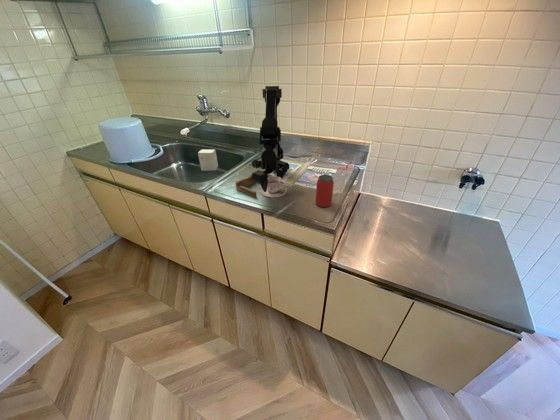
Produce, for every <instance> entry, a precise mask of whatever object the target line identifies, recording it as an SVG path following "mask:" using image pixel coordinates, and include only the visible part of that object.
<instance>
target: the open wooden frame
mask: <svg viewBox="0 0 560 420" xmlns="http://www.w3.org/2000/svg"><path fill="white" fill-rule="evenodd" d="M260 171H263V172H264V171H265V169H261V170H260ZM269 176H273V175H272V174H269V175H268V177H269ZM255 182H257V181H256V180H253V179H252V174H250V175H247V176H245V177H243V178H241V179H238V180H237V181H235V190H237V191H238V192H241V193H243V194H245V195H248V196H250V197H251V198H257V191H255V190H253V189H250V188H249V187H248V186H250V185H252V184H254V183H255Z"/></svg>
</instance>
